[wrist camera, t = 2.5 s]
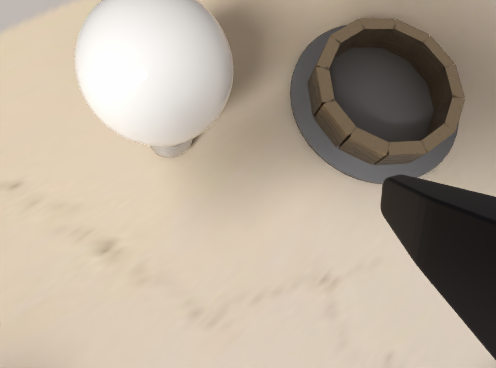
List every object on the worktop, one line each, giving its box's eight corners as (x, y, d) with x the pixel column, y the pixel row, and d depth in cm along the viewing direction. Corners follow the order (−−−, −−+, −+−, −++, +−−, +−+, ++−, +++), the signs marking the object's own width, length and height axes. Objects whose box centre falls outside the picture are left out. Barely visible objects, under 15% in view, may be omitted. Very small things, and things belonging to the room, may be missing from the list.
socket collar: (457, 73, 27) (476, 57, 25) (421, 188, 24) (441, 180, 22) (337, 17, 27) (348, -4, 25) (287, 125, 24) (295, 111, 22)
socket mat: (471, 71, 27) (475, 68, 27) (430, 214, 24) (433, 213, 24) (326, 2, 27) (327, -2, 27) (262, 135, 24) (263, 132, 23)
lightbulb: (96, 157, 22) (4, 38, 12) (154, 78, 24) (121, -85, 13) (188, 209, 22) (179, 137, 11) (239, 125, 24) (272, -2, 13)
